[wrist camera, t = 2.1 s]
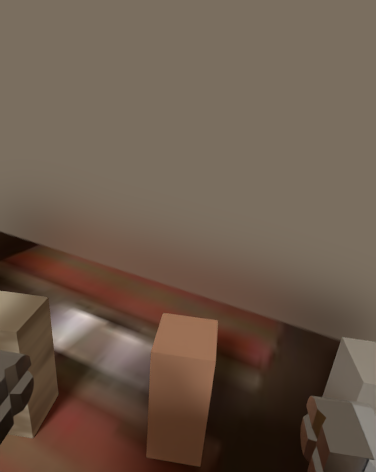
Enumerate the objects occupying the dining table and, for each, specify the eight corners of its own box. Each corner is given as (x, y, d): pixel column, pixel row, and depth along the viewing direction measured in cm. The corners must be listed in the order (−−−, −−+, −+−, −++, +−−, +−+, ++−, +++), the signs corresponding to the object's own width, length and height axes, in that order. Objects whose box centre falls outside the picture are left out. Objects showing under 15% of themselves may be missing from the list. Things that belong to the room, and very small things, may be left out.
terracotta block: (146, 457, 26) (151, 351, 22) (157, 410, 30) (163, 312, 26) (200, 466, 26) (215, 361, 22) (204, 417, 30) (218, 320, 26)
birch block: (-17, 429, 27) (-43, 323, 23) (14, 387, 31) (-3, 290, 27) (33, 438, 27) (16, 332, 23) (58, 394, 31) (48, 297, 27)
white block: (322, 487, 25) (363, 382, 21) (310, 434, 29) (342, 337, 25) (381, 497, 25) (435, 393, 21) (360, 442, 29) (401, 345, 25)
